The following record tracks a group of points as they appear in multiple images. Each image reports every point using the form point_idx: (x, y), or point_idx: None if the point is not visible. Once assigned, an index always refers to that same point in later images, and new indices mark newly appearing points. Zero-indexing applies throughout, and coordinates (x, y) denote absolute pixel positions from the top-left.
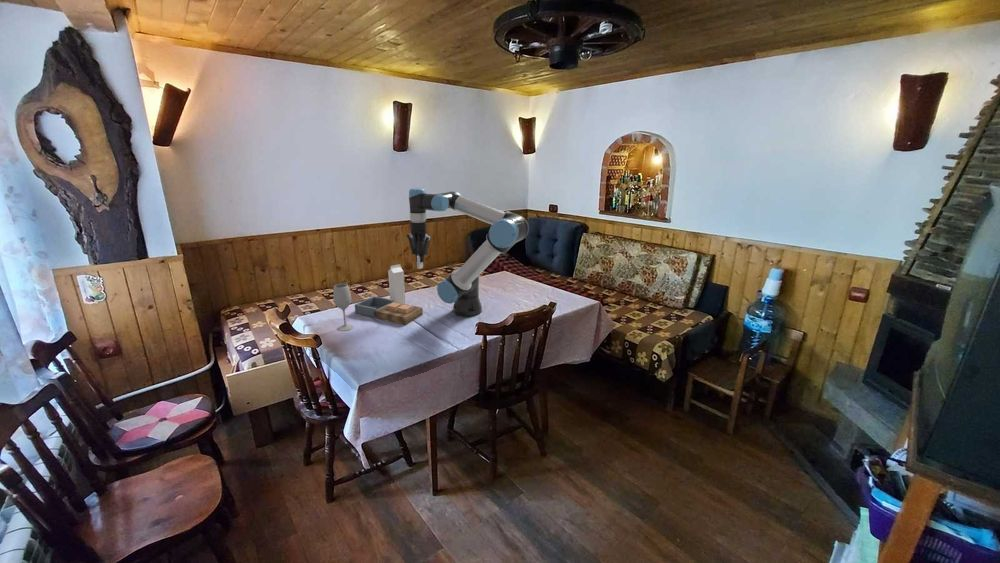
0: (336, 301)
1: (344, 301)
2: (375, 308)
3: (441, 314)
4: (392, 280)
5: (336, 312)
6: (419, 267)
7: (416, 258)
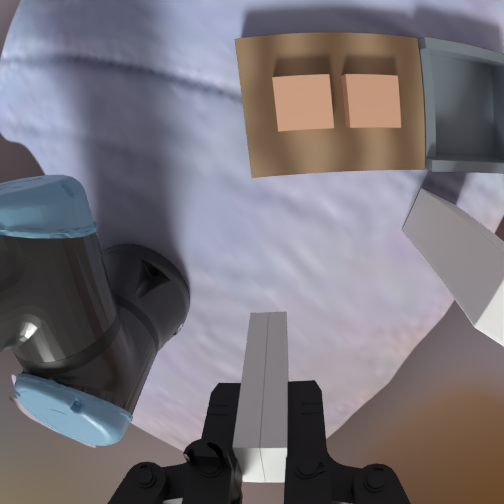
0: None
1: None
2: (427, 43)
3: (189, 217)
4: (496, 242)
5: None
6: (255, 324)
7: (311, 416)
